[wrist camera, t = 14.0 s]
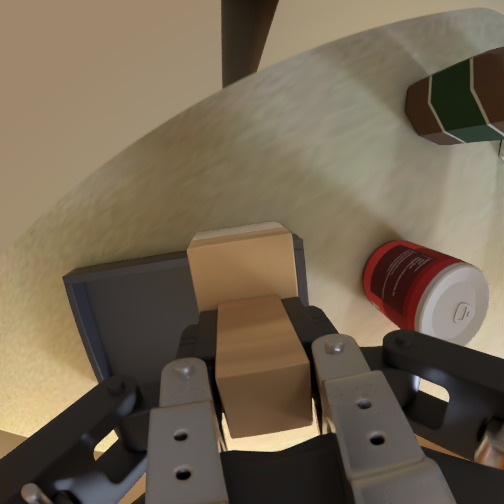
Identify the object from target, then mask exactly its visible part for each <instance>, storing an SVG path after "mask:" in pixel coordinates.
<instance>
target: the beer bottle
mask: <svg viewBox="0 0 504 504" xmlns="http://www.w3.org/2000/svg"><path fill="white" fill-rule="evenodd" d="M406 113H407V114H408V116H409V118H410V120H411V122H412V123H413V125H414V127H415V129H416V131H417V133H418V135H420V136H422V137H424V138H426V139H428V140H431V141H433V142H435V143H437V144H439V145H452V144H461V143H470V142H480V141H491V140H503V139H504V47H500V48H496V49H493V50H489V51H486V52H484V53H481V54H479V55H476V56H474V57H471V58H469V59H467V60H464V61H462V62H459V63H457V64H455V65H452V66H450V67H448V68H446V69H443V70H441V71H439V72H437V73H434V74H432V75H430V76H428V77H426V78H424V79H422V80H420V81H418V82H416V83H415V84H413V85H411V86H410V87H409V88H408V97H407V107H406Z"/></svg>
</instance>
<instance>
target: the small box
mask: <svg viewBox="0 0 504 504" xmlns="http://www.w3.org/2000/svg"><path fill="white" fill-rule="evenodd" d="M499 157H500V158H501V159H502V160H503V161H504V139H503V140H502V143H501V149H500V154H499Z"/></svg>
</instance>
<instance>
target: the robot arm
mask: <svg viewBox="0 0 504 504" xmlns="http://www.w3.org/2000/svg"><path fill="white" fill-rule="evenodd" d="M281 302H282V304H283V306H284V308H285V310H286V313H287V315H288V317H289V319H290V321H291V323H292V325H293V328H294V330H295V332H296V334H297V336H298V338H299V341H300V342H301V344H302V346H303V348H304V350H305V353H306V355H307V357H308V359H309V361H310V372H311V391H312V398H313V400H314V407H315V417H316V423H317V428H318V434H319V436H316V437H314V438H312V439H309V440H307V441H305V442H302V443H300V444H297V445H295V446H292V447H290V448H287V449H285V450H282V451H278V452H258V451H239V450H232V451H228V447H227V443H226V438H225V434H224V429H223V425H222V413H224V411H223V407H222V403H221V399H220V396H219V392H218V388H217V384H216V380H215V360H216V350H217V321H218V309H214V310H207V311H200V316H199V322H198V324H193V325H188V326H187V327H186V328H185V329H184V330H183V331H182V335H181V340H180V342H179V346H178V350H177V354H176V358H175V361H172V362H170V363H169V364H167V365H166V366H165V367H164V368H163V370H162V373H161V379H160V380H158V381H155V382H152V383H148V384H145V385H141V386H139V385H138V383H137V380H136V379H135V378H134V377H133V376H130V375H115V376H112V377H109V378H107V379H105V380H103V381H102V382H100V383H99V384H98V385H97V386H95V387H94V388H93V389H91V390H90V391H89V392H88V393H86V394H85V395H84V396H82V397H81V398H80V399H79V400H77V401H76V402H75V403H73V404H72V405H71V406H70V407H68V408H67V409H66V410H64V411H63V412H62V413H60V414H59V415H58V416H57V417H55V418H54V419H53V420H51V421H50V422H49V423H47V424H46V425H45V426H44V427H42V428H41V429H40V430H38V431H37V432H36V433H34V434H33V435H32V436H31V437H29V438H28V439H27V440H25V441H24V442H23V443H21V444H20V445H19V446H17V447H16V448H15V449H13V450H12V451H11V452H10V453H8V454H7V455H6V456H4V457H3V458H2V459H0V504H117V503H118V502H119V501H120V500H121V499H122V498H123V497H124V496H125V494H126V493H127V492H128V491H129V490H130V489H131V488H132V487H133V486H134V484H135V483H136V482H137V481H138V480H139V479H140V478H141V477H142V475H143V474H144V473H145V472H146V492H145V493H144V494H142V495H141V496H140V497H139V498H138V499H136V500H135V501H134V502H133V503H132V504H504V359H502V358H499V357H495V356H492V355H489V354H486V353H483V352H479V351H476V350H473V349H470V348H467V347H464V346H460V345H457V344H454V343H451V342H448V341H445V340H442V339H439V338H436V337H433V336H429V335H426V334H423V333H420V332H417V331H414V330H407V329H401V330H395V331H392V332H390V333H388V334H386V335H385V336H384V338H383V345H382V346H376V347H359V346H358V344H357V342H356V341H355V339H354V338H352V337H351V336H348V335H344V334H339V333H338V331H337V330H336V328H335V327H334V326H333V324H332V323H331V322H330V320H329V319H328V317H326V315H325V313H324V312H323V311H322V309H320V308H317V307H315V306H313V305H312V306H307V307H304V305H303V303H302V302H301V300H300V299H299V297H298V296H296V297H290V298H284V299H281ZM420 378H422V379H425V380H427V381H430V382H432V383H435V384H437V385H440V386H442V387H444V388H445V389H446V390H447V391H448V393H449V397H450V399H449V403H448V402H446V401H443V400H441V399H439V398H436V397H434V396H432V395H429V394H427V393H425V392H422V391H420V390H418V389H419V384H420ZM113 429H114V431H115V433H116V434H117V436H118V438H119V439H118V440H117V441H116V442H115V443H114V444H113V445H112V446H111V447H110V448H109V449H108V450H107V451H106V452H105V453H104V454H102V455H101V456H100V457H99V458H98V459H97V460H96V461H95V459H94V455H93V452H94V449H95V447H96V445H97V444H98V443H99V442H100V441H101V440H102V439H103V438H105V437H106V436H107V435H108V434H109V433H110V432H111V431H112V430H113ZM415 434H416V435H418V436H420V437H422V438H424V439H426V440H428V441H430V442H433V443H435V444H436V445H439V446H441V447H443V448H445V449H447V450H449V451H451V452H453V453H456V454H458V455H460V456H462V457H464V458H466V459H469V460H471V461H468V460H465V459H461V458H458V457H454V456H451V455H448V454H444V453H441V452H438V451H435V450H432V449H429V448H426V447H423V446H420V444H419V443H418V440H417V438H416V436H415ZM472 461H473V462H472Z"/></svg>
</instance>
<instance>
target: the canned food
mask: <svg viewBox="0 0 504 504" xmlns="http://www.w3.org/2000/svg"><path fill="white" fill-rule="evenodd" d="M363 285H364V290H365V293H366V295H367V297H368V299H369V301H370V302H371V303H372V305H374V306H375V307H376V308H377V309H378V310H379V311H381V312H382V313H383V314H384V315H385V316H386V317H388V318H389V319H390V320H391V321H392V322H393V323H394V324H396V325H397V326H398V327H399V328H400V329H407V330H414V331H417V332H420V333H423V334H426V335H429V336H433V337H436V338H439V339H442V340H445V341H448V342H451V343H454V344H457V345H460V346H466V345H467V344H468V343H469V342H470V341H471V340H472V339H473V338H474V336H475V335H476V334H477V332H478V331H479V329H480V327H481V326H482V324H483V322H484V319H485V317H486V314H487V310H488V307H489V300H490V290H489V284H488V281H487V278H486V276H485V275H484V273H483V272H482V271H481V270H480V269H479V268H477V267H475V266H474V265H472V264H470V263H467V262H465V261H462V260H460V259H457V258H454V257H452V256H449V255H446V254H443V253H440V252H438V251H435V250H432V249H429V248H426V247H423V246H420V245H417V244H414V243H411V242H408V241H402V240H400V241H393V242H390V243H387V244H384V245H383V246H381V247H379V248H378V249H377V250H376V251H375V252H374V253H373V254H372V255H371V257H370V258H369V260H368V262H367V264H366V266H365V269H364V274H363Z"/></svg>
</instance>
